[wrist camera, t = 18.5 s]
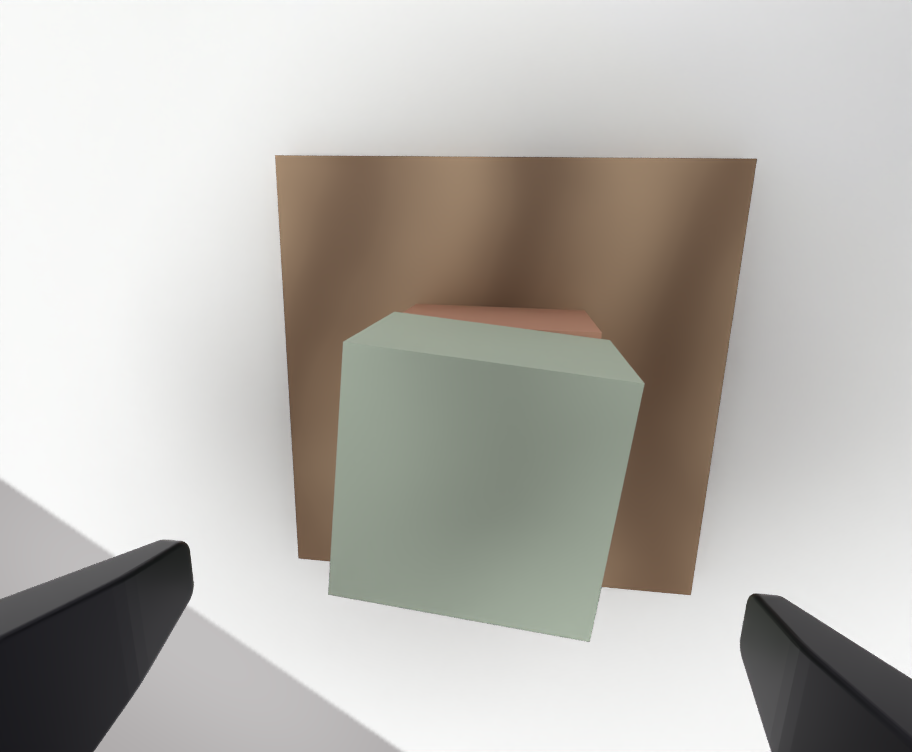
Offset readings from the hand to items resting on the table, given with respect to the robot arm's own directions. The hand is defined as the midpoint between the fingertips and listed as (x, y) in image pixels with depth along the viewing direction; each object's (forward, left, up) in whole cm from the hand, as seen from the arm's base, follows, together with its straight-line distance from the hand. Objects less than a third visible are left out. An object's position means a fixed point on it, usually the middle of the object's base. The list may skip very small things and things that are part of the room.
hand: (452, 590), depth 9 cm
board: (0, 0, -13) cm, 13 cm away
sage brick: (0, 0, -8) cm, 8 cm away
